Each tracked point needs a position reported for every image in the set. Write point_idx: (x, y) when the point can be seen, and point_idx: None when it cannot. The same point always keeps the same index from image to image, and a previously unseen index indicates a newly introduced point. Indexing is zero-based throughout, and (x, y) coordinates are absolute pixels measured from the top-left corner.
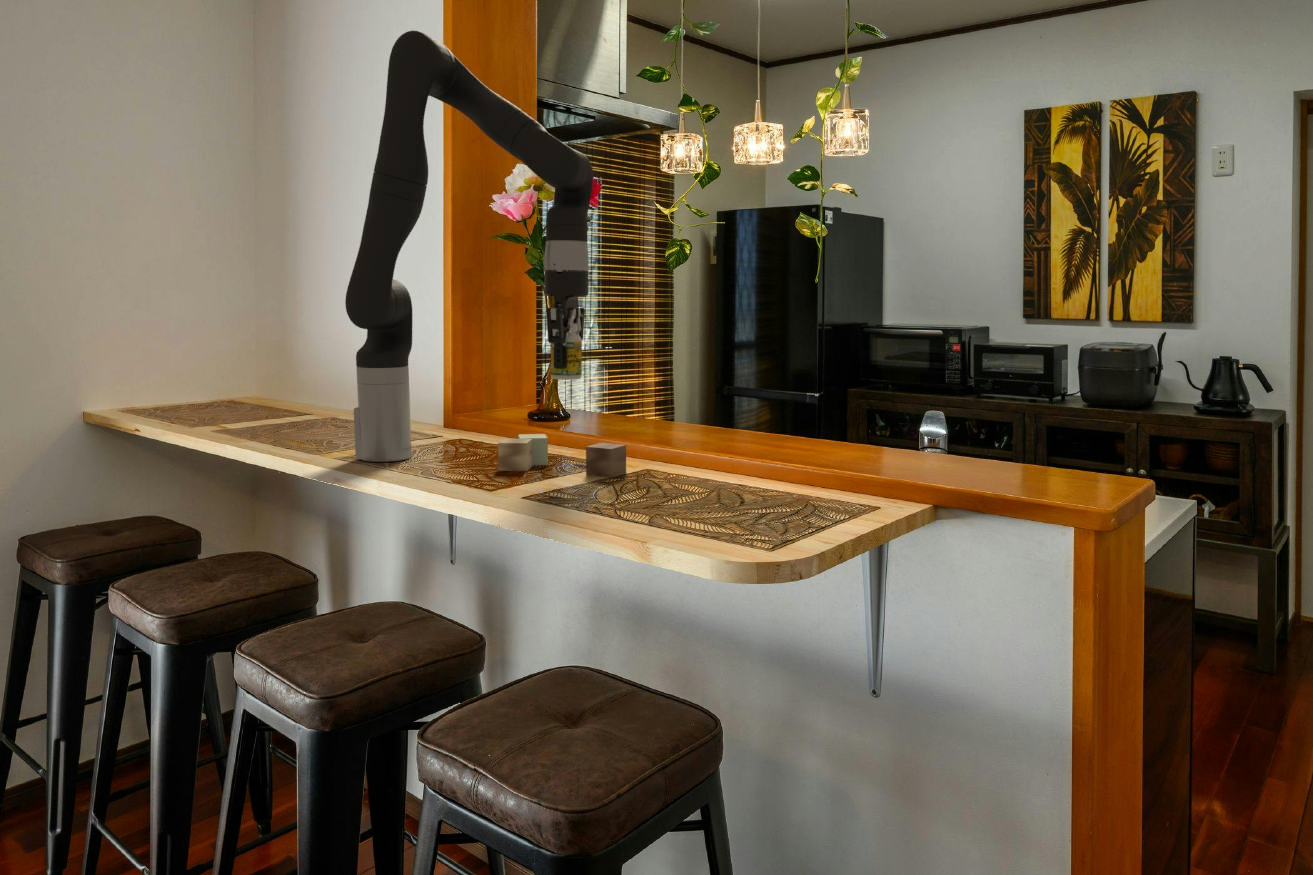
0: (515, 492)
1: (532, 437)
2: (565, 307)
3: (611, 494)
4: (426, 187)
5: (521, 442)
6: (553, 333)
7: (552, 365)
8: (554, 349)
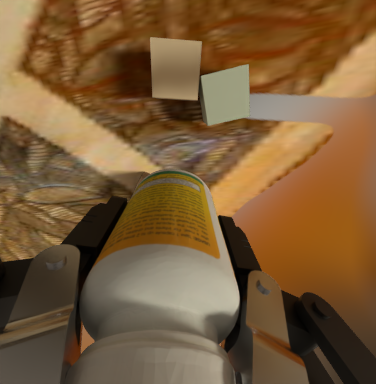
0: (28, 104)
1: (213, 98)
2: None
3: (60, 198)
4: None
5: (159, 86)
6: (10, 320)
7: (142, 189)
8: (82, 238)
